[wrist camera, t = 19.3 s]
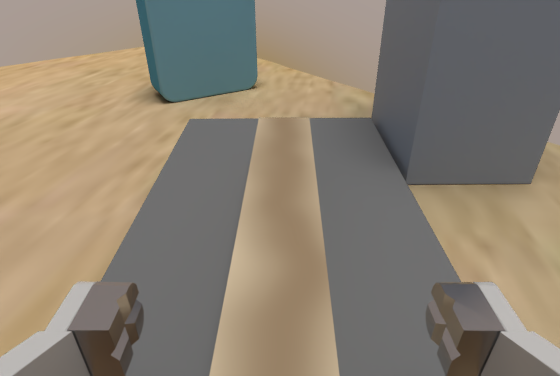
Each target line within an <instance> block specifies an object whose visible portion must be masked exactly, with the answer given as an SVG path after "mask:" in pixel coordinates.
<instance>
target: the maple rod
mask: <svg viewBox="0 0 560 376" xmlns="http://www.w3.org/2000/svg"><path fill="white" fill-rule="evenodd" d="M209 376H340V375H339V367H338V358H337V350H336V341H335V333H334V324H333V316H332V307H331V298H330V290H329V281H328V273H327V264H326V256H325V247H324V239H323V230H322V221H321V213H320V204H319V196H318V187H317V179H316V170H315V162H314V153H313V145H312V136H311V127H310V119H309V118H259V120H258V125H257V130H256V135H255V141H254V146H253V151H252V156H251V161H250V167H249V172H248V177H247V182H246V187H245V193H244V198H243V203H242V208H241V213H240V219H239V224H238V229H237V234H236V239H235V245H234V250H233V255H232V260H231V265H230V271H229V276H228V281H227V286H226V291H225V297H224V302H223V307H222V312H221V317H220V323H219V328H218V333H217V338H216V343H215V349H214V354H213V359H212V364H211V369H210V375H209Z"/></svg>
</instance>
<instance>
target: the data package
mask: <svg viewBox="0 0 560 376" xmlns="http://www.w3.org/2000/svg"><path fill="white" fill-rule="evenodd" d="M136 3H137V8H138V14H139V19H140V25H141V30H142V36H143V41H144V47H145V52H146V58H147V63H148V68H149V74H150V79H151V83H152V85H153V87H154V88H155V89H156V90H157V91H158V92H159V93H160V94H161V95H162V96H163V97H164V98H165V99H166V100H168V101H171V102H180V101H186V100H191V99H197V98H203V97H208V96H214V95H220V94H225V93H231V92H237V91H242V90H247V89H250V88H251V87H252V86H253V85H254V84H255V82H256V80H257V52H256V26H255V25H256V24H255V0H136Z"/></svg>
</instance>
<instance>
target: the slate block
mask: <svg viewBox="0 0 560 376" xmlns="http://www.w3.org/2000/svg"><path fill="white" fill-rule="evenodd" d="M559 110H560V0H386V8H385V16H384V24H383V32H382V40H381V48H380V56H379V65H378V72H377V80H376V88H375V96H374V104H373V112H372V122H373V123H374V125H375V127H376V129H377V131H378V132H379V134H380V136H381V138H382V140H383V141H384V143H385V145H386V147H387V149H388V151H389V152H390V154H391V156H392V158H393V160H394V161H395V163H396V165H397V167H398V169H399V170H400V172H401V174H402V176H403V178H404V179H405V181H406V183H407V184H531V182H532V179H533V176H534V174H535V171H536V169H537V166H538V164H539V161H540V159H541V156H542V154H543V151H544V149H545V146H546V143H547V141H548V138H549V136H550V133H551V131H552V128H553V125H554V123H555V121H556V118H557V115H558V113H559Z"/></svg>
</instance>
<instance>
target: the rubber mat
mask: <svg viewBox="0 0 560 376" xmlns="http://www.w3.org/2000/svg"><path fill="white" fill-rule="evenodd" d="M309 119H310V127H311V136H312V145H313V153H314V162H315V170H316V179H317V187H318V196H319V204H320V213H321V221H322V230H323V239H324V247H325V256H326V264H327V273H328V281H329V290H330V298H331V307H332V316H333V324H334V333H335V341H336V350H337V358H338V367H339V375H340V376H445V373H444V371H443V368H442V366H441V364H440V361H439V359H438V356H437V351H438V348H439V346H438V345H437V344H436V343H435V342H434V341H432V340H431V339H430V336H429V333H428V330H427V326H426V309H427V305H428V304H429V303H430V302H431V301H432V300H434V298H433V296H432V294H431V291H432V288H433V286H434V284H435V283H440V282H461V281H460V279H459V277H458V275H457V274H456V272H455V270H454V268H453V266H452V265H451V263H450V261H449V259H448V257H447V255H446V254H445V252H444V250H443V248H442V246H441V245H440V243H439V241H438V239H437V237H436V236H435V234H434V232H433V230H432V228H431V227H430V225H429V223H428V221H427V219H426V217H425V216H424V214H423V212H422V210H421V208H420V207H419V205H418V203H417V201H416V199H415V198H414V196H413V194H412V192H411V190H410V189H409V187H408V185H407V183H406V181H405V179H404V178H403V176H402V174H401V172H400V170H399V169H398V167H397V165H396V163H395V161H394V160H393V158H392V156H391V154H390V152H389V151H388V149H387V147H386V145H385V143H384V141H383V140H382V138H381V136H380V134H379V132H378V131H377V129H376V127H375V125H374V123H373V122H372V120H371V118H309ZM258 120H259V119H190V120H189V122H188V123H187V125H186V127H185V129H184V131H183V133H182V134H181V136H180V138H179V140H178V142H177V143H176V145H175V147H174V149H173V151H172V153H171V154H170V156H169V158H168V160H167V162H166V163H165V165H164V167H163V169H162V171H161V173H160V174H159V176H158V178H157V180H156V182H155V183H154V185H153V187H152V189H151V191H150V193H149V194H148V196H147V198H146V200H145V202H144V203H143V205H142V207H141V209H140V211H139V213H138V214H137V216H136V218H135V220H134V222H133V223H132V225H131V227H130V229H129V231H128V233H127V234H126V236H125V238H124V240H123V242H122V243H121V245H120V247H119V249H118V251H117V253H116V254H115V256H114V258H113V260H112V262H111V263H110V265H109V267H108V269H107V271H106V273H105V274H104V276H103V278H102V280H101V282H130V283H136V285H137V288H138V291H139V294H138V296H137V299H136V300H138V301H139V302H140V303H141V304H142V306H143V310H144V322H143V329H142V332H141V335H140V338H139V339H138V340H137V341H136V342H135V343H134V344H133V345H132V350H133V353H134V354H133V357H132V360H131V362H130V365H129V368H128V370H127V373H126V376H209V375H210V369H211V364H212V359H213V354H214V349H215V343H216V338H217V333H218V328H219V323H220V317H221V312H222V307H223V302H224V297H225V291H226V286H227V281H228V276H229V271H230V265H231V260H232V255H233V250H234V245H235V239H236V234H237V229H238V224H239V219H240V213H241V208H242V203H243V198H244V193H245V187H246V182H247V177H248V172H249V167H250V161H251V156H252V151H253V146H254V141H255V135H256V130H257V125H258Z"/></svg>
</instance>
